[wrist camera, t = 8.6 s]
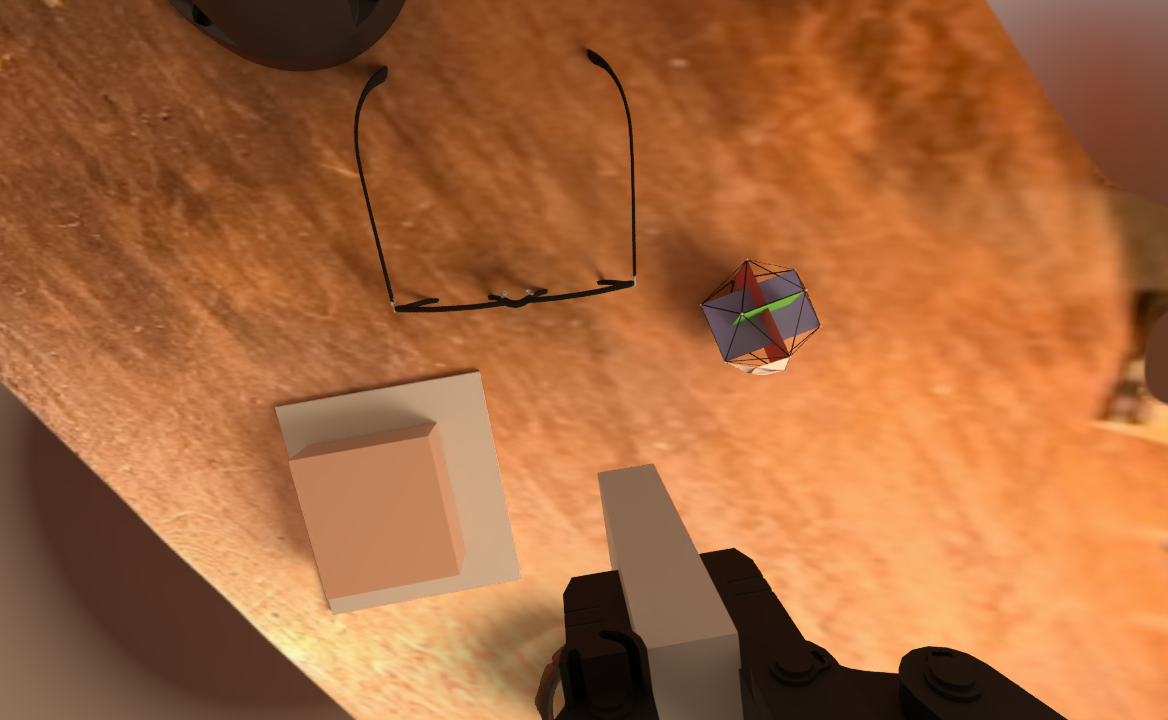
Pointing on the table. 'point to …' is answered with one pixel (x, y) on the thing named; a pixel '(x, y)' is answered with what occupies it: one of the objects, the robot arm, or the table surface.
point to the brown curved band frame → (548, 687)
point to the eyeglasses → (502, 301)
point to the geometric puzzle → (760, 318)
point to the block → (379, 510)
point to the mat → (467, 462)
